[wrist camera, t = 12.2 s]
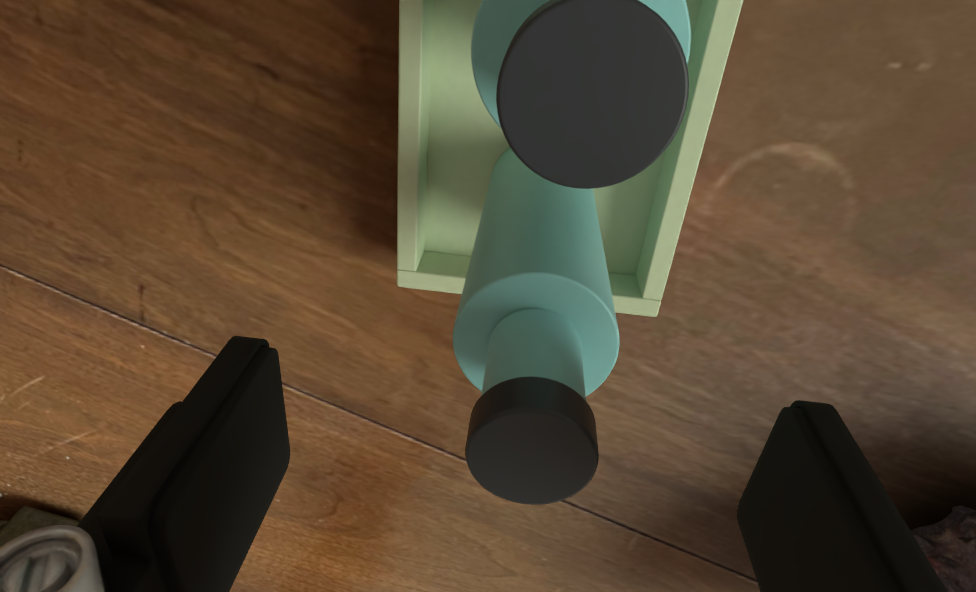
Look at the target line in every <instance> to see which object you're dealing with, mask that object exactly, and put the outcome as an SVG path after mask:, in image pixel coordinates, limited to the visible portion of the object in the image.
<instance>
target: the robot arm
mask: <svg viewBox="0 0 976 592" xmlns="http://www.w3.org/2000/svg"><path fill="white" fill-rule="evenodd" d="M289 459H290V445H289V437H288V429H287V421H286V413H285V405H284V397H283V389H282V381H281V373H280V365H279V357H278V352H277V350H276V349H275V348H270V347H269V343H268V342H267V340H265V339H258V338H249V337H241V336H234V337H232V338H231V339H230V340H229V341H228V343H227V344H226V345H225V347H224V348H223V349H222V350H221V352H220V353H219V354H218V356H217V357H216V358H215V360H214V361H213V362H212V364H211V365H210V366H209V368H208V369H207V370H206V371H205V373H204V374H203V375H202V377H201V378H200V379H199V381H198V382H197V383H196V385H195V386H194V387H193V389H192V390H191V391H190V393H189V394H188V395H187V396H186V398H185V399H184V400H183V402H180V401H179V402H177V403H175V404H173V405H172V406H171V407H170V408H169V409H168V410H167V411H166V413H165V414H164V415H163V416H162V418H161V419H160V420H159V421H158V423H157V424H156V425H155V427H154V428H153V429H152V430H151V432H150V433H149V434H148V436H147V437H146V438H145V439H144V441H143V442H142V443H141V445H140V446H139V447H138V448H137V450H136V451H135V452H134V454H133V455H132V456H131V457H130V459H129V460H128V461H127V463H126V464H125V465H124V466H123V468H122V469H121V470H120V472H119V473H118V474H117V475H116V477H115V478H114V479H113V481H112V482H111V483H110V484H109V486H108V487H107V488H106V489H105V491H104V492H103V493H102V495H101V496H100V497H99V498H98V500H97V501H96V502H95V504H94V505H93V506H92V507H91V509H90V510H89V511H88V513H87V514H86V515H85V516H84V518H83V519H82V520H81V522H80V523H79V524H78V525H77V527H74V526H69V525H53V526H46V527H42V528H39V529H35V530H32V531H29V532H27V533H25V534H22V535H20V536H18V537H16V538H14V539H12V540H10V541H9V542H7V543H6V544H4V545H3V546H2V547H0V592H229V591H230V589H231V587H232V584H233V582H234V580H235V578H236V576H237V574H238V572H239V570H240V568H241V565H242V563H243V561H244V559H245V557H246V555H247V553H248V551H249V548H250V546H251V544H252V542H253V540H254V538H255V536H256V534H257V532H258V529H259V527H260V525H261V523H262V521H263V519H264V517H265V515H266V512H267V510H268V508H269V506H270V504H271V502H272V500H273V498H274V496H275V493H276V491H277V489H278V487H279V485H280V483H281V481H282V479H283V476H284V474H285V472H286V470H287V467H288V464H289ZM737 519H738V524H739V527H740V531H741V534H742V537H743V540H744V543H745V546H746V549H747V552H748V555H749V558H750V561H751V564H752V567H753V570H754V573H755V576H756V579H757V582H758V585H759V588H760V591H761V592H948V591H947V590H946V588H945V587H944V585H943V583H942V582H941V580H940V578H939V577H938V575H937V573H936V572H935V570H934V569H933V567H932V565H931V564H930V562H929V560H928V559H927V557H926V556H925V554H924V552H923V551H922V549H921V547H920V546H919V544H918V542H917V541H916V539H915V538H914V536H913V534H912V533H911V531H910V529H909V528H908V526H907V525H906V523H905V521H904V520H903V518H902V516H901V515H900V513H899V512H898V510H897V508H896V507H895V505H894V503H893V502H892V500H891V498H890V497H889V495H888V494H887V492H886V490H885V489H884V487H883V485H882V484H881V482H880V481H879V479H878V477H877V476H876V474H875V472H874V471H873V469H872V467H871V466H870V464H869V463H868V461H867V459H866V458H865V456H864V454H863V453H862V451H861V450H860V448H859V446H858V445H857V443H856V441H855V440H854V438H853V437H852V435H851V433H850V432H849V430H848V428H847V427H846V425H845V423H844V422H843V420H842V419H841V417H840V415H839V414H838V412H837V410H836V409H835V408H834V407H833V406H832V405H830V404H826V403H817V402H809V401H800V400H799V401H795V402H793V403H792V405H791V406H790V407H784V408H783V409H782V410H781V412H780V413H779V416H778V418H777V420H776V422H775V424H774V427H773V429H772V431H771V433H770V435H769V438H768V440H767V442H766V444H765V446H764V449H763V451H762V453H761V455H760V457H759V460H758V462H757V464H756V466H755V468H754V471H753V473H752V475H751V477H750V480H749V482H748V484H747V486H746V488H745V491H744V493H743V495H742V497H741V499H740V502H739V504H738V509H737Z"/></svg>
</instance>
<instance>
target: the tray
mask: <svg viewBox="0 0 976 592" xmlns="http://www.w3.org/2000/svg"><path fill="white" fill-rule="evenodd" d="M481 1H482V0H399V87H398V202H397V269H398V270H397V286H398V287H406V288H414V289H423V290H431V291H440V292H448V293H457V294H462V292H463V288H464V284H465V280H466V275H467V271H468V267H469V263H470V259H471V255H472V251H473V247H474V243H475V239H476V235H477V231H478V227H479V223H480V219H481V215H482V211H483V207H484V203H485V199H486V194H487V190H488V186H489V182H490V178H491V174H492V171H493V168H494V166H495V164H496V162H497V161H498V159H499V158H500V157H501V155H502V154H503V153H504V152H505V151H506V150H507V149H509V148H510V146H509V144H508V142H507V140H506V138H505V137H504V134H503V131H502V129H501V128H500V127H499V126H498V125H497V124H496V123H495V121H494V120H493V118H492V117H491V115H490V114H489V113H488V111H487V109H486V107H485V105H484V104H483V102H482V100H481V97H480V95H479V92H478V90H477V87H476V83H475V79H474V75H473V69H472V61H471V41H472V33H473V26H474V22H475V18H476V15H477V11H478V9H479V6H480V4H481ZM685 1H686V3H687V8H688V13H689V17H690V28H691V44H690V54H689V60H688V65H687V67H688V75H689V94H688V101H687V106H686V110H685V114H684V117H683V120H682V122H681V125H680V127H679V129H678V131H677V133H676V135H675V136H674V138H673V140H672V141H671V143H670V144H669V146H668V147H667V148H666V150H665V151H664V152H663V153H662V154H661V155H660V156H659V157H658V158H657V159H656V160H655V161H654V162H653V163H652V164H651V165H650V166H648V167H647V168H646V169H645V170H643V171H642V172H640V173H638V174H637V175H635V176H634V177H632V178H630V179H627V180H625V181H623V182H620V183H617V184H614V185H611V186H607V187H602V188H593V193H594V198H595V204H596V209H597V215H598V220H599V226H600V231H601V237H602V242H603V248H604V253H605V259H606V264H607V270H608V276H609V281H610V287H611V292H612V298H613V303H614V309H615V312H617V313H626V314H634V315H643V316H651V317H656V316H657V314H658V310H659V307H660V303H661V299H662V296H663V293H664V289H665V285H666V282H667V278H668V274H669V271H670V267H671V263H672V260H673V256H674V252H675V249H676V245H677V241H678V238H679V234H680V230H681V227H682V223H683V219H684V216H685V212H686V208H687V205H688V201H689V197H690V194H691V190H692V186H693V183H694V179H695V175H696V172H697V168H698V164H699V161H700V157H701V153H702V150H703V146H704V142H705V139H706V135H707V131H708V128H709V124H710V120H711V117H712V113H713V109H714V106H715V102H716V98H717V95H718V91H719V87H720V84H721V80H722V76H723V73H724V69H725V65H726V62H727V58H728V55H729V51H730V47H731V44H732V40H733V36H734V33H735V29H736V25H737V22H738V18H739V14H740V11H741V7H742V3H743V0H685Z"/></svg>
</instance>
